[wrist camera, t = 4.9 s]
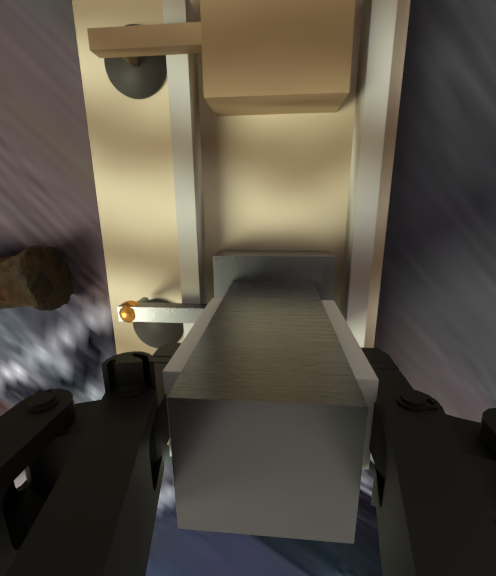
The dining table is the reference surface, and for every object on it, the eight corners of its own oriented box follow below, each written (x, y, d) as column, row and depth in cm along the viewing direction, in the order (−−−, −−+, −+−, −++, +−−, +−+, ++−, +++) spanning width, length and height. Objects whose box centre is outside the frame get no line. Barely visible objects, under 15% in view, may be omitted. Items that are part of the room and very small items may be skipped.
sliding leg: (132, 249, 18) (-119, 331, 7) (328, 250, 17) (432, 349, 6) (142, 344, 20) (-48, 545, 8) (322, 351, 19) (393, 588, 7)
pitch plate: (94, 18, 17) (24, -52, 13) (397, 0, 16) (448, -88, 11) (140, 422, 24) (105, 477, 19) (354, 435, 23) (375, 497, 18)
